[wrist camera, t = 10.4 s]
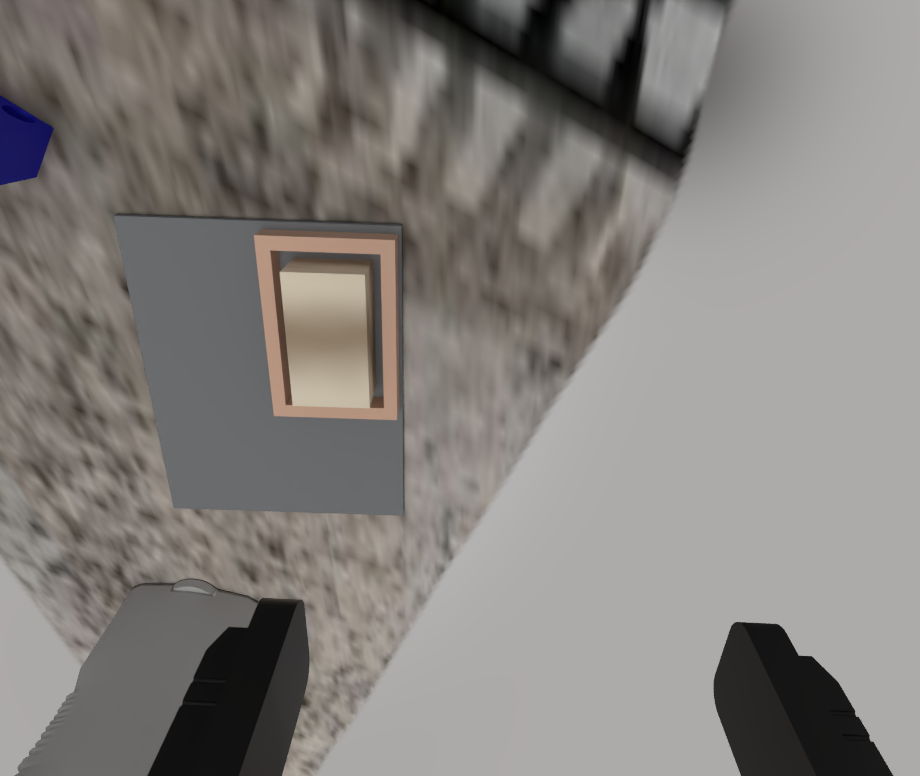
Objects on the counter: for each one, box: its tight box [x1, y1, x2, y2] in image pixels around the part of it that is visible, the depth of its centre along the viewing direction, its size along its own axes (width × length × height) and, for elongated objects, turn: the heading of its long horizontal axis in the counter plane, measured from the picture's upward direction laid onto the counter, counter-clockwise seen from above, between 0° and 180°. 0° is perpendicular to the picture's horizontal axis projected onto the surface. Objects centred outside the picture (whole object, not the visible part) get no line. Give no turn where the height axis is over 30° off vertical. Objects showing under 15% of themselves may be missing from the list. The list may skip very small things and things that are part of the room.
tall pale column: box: [15, 579, 258, 776], centre depth 38 cm, size 11×4×22 cm, turn 81°
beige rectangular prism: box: [280, 258, 376, 408], centre depth 36 cm, size 8×4×3 cm, turn 178°
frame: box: [254, 229, 399, 420], centre depth 37 cm, size 11×8×2 cm
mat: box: [113, 214, 404, 515], centre depth 39 cm, size 20×16×1 cm
